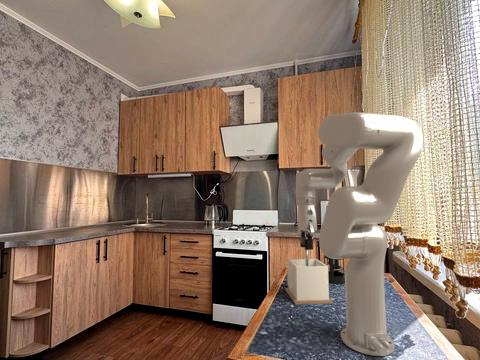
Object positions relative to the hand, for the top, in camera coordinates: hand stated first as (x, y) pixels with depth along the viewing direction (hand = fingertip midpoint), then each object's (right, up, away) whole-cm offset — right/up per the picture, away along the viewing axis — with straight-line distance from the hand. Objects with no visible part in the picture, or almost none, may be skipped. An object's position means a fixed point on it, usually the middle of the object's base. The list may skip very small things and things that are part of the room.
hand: (306, 247), depth 100 cm
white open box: (0, -19, -1) cm, 19 cm away
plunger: (0, -11, -1) cm, 11 cm away
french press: (+18, -20, +18) cm, 32 cm away
